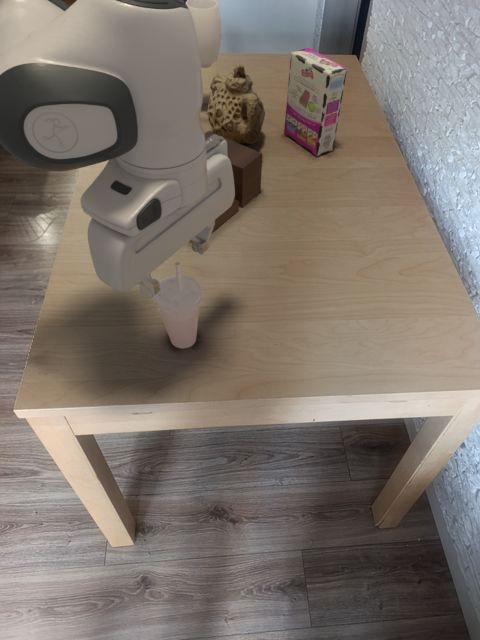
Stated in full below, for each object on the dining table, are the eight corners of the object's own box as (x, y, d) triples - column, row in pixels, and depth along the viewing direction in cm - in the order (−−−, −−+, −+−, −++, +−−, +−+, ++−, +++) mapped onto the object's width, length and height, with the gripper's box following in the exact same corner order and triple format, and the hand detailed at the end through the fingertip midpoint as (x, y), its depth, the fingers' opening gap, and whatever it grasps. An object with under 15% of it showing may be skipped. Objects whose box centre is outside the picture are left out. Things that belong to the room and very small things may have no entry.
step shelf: (143, 217, 88) (137, 178, 82) (210, 169, 98) (208, 130, 92) (197, 245, 85) (194, 205, 78) (260, 192, 95) (262, 153, 88)
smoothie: (214, 334, 73) (211, 262, 62) (187, 363, 70) (178, 292, 59) (179, 315, 75) (170, 242, 64) (151, 342, 72) (136, 270, 60)
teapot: (195, 120, 110) (190, 45, 98) (244, 112, 113) (245, 38, 101) (230, 173, 98) (229, 95, 86) (283, 162, 101) (290, 86, 89)
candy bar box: (334, 150, 105) (349, 67, 92) (316, 157, 103) (329, 74, 90) (300, 127, 110) (309, 45, 97) (282, 133, 108) (289, 51, 95)
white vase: (203, 121, 109) (198, 13, 93) (183, 108, 113) (175, 0, 96) (229, 111, 113) (228, 5, 96) (209, 98, 116) (205, -7, 99)
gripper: (202, 118, 57) (208, 217, 68) (65, 207, 47) (98, 308, 58) (248, 137, 55) (246, 236, 66) (115, 234, 45) (140, 332, 56)
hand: (177, 270), depth 62 cm, fingers open, 8 cm apart
